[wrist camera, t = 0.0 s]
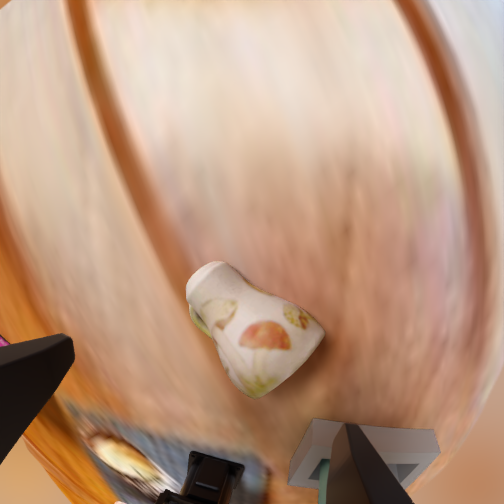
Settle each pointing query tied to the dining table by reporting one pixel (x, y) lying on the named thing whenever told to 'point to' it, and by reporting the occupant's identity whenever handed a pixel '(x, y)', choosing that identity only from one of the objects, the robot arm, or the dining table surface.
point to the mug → (250, 328)
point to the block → (382, 438)
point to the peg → (323, 480)
